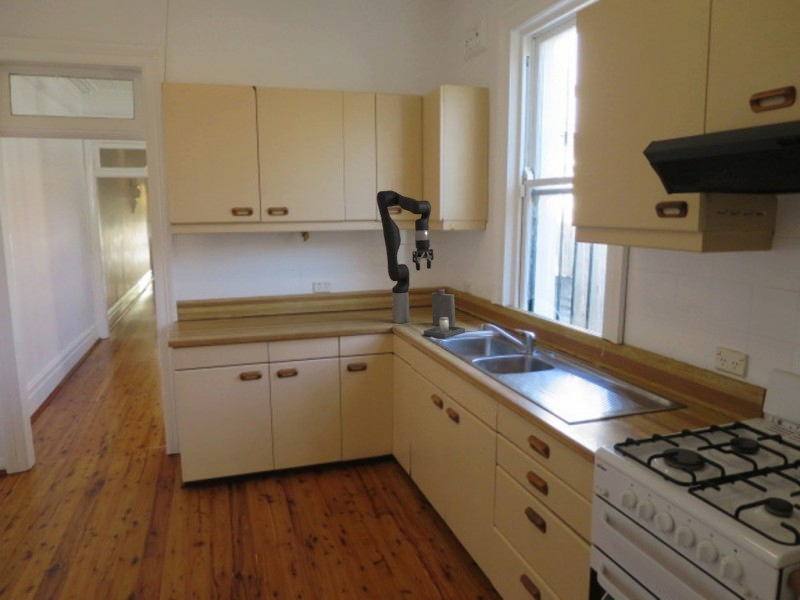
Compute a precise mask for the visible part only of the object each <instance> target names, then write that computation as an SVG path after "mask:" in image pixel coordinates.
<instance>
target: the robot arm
mask: <svg viewBox="0 0 800 600" xmlns="http://www.w3.org/2000/svg"><path fill="white" fill-rule="evenodd" d="M376 203H377V207H378V211H379V215H380V220H381V225H382V226H381V227H382V231H383V240H384V244H385V251H386V260H387V262H386V263H387V273H388V277H389V279H390V280H391V281H392V282H396V284H395V285H394V286H392V288H391V290H392V291H391V292H392V305H391V318H392V322H394V323H396V324H404V323H410V322H411V321H410V320H411V319H410V299H409V297H410V296H409V290H410V289H409V288H410V269H409V267H408V265H407V264H405V263H399V262H398V253H399V250H400V247H401V242H402V240H401V239H402V237H401V233H400V232H401V231H400V228H399V226H398V224H397V222H395V221H394V219H393V218H392V217H391V215H390V212H389V208H392V207H400V209H402V210H404V211H408V212H410V213H411V214H412V215H420V218H417V219H416V220H414V221H415V222H414V225H415V226H414V231H415V233H414V240H415V241H414V242H415V243H414V244H415V248H416V250H413V251H412V252H411V253H412V254H411V255H412V259H411V260H412V263H414V264H415V269H416V271H419V272H420V270H421V261H422V260H423V259H425V260H426V269H428V270H429V269H431V268H432V261H433V260H435V259H434V258H435V257H434V249H433V248H430V247H431V244H430V243H431V242H430V241H431V240H430V232H429V229H430V228H429V227H430V226H429V221H430V217H431V212H432V205H431V203H430V201H428V200H417V199H416V198H413V197H408V196H404V195H402V194H400V193H398V192H396V191H395V190H380V191H378V192H377V194H376Z"/></svg>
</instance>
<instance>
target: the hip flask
mask: <svg viewBox="0 0 800 600" xmlns="http://www.w3.org/2000/svg"><path fill="white" fill-rule="evenodd" d="M431 308H432V309H431V312H432V315H431V316H432V325H435V326H440V322H439V319H440V317H448V322H449V326H455V327H456V315H455V314H456V313H455V312H456V308H455V294H453V293H452V294H450V293H446V289H444V288H443V289H438V291H437V292H431Z"/></svg>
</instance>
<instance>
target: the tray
mask: <svg viewBox="0 0 800 600" xmlns="http://www.w3.org/2000/svg"><path fill="white" fill-rule="evenodd" d="M465 329H466V328H465V327H463V326H462V327H461V326H456V325H455V326H449V332H447V333H440V326H439V325H437V326H435V327H431V328H428V329H425V330H423V336H425V335H428V336H427V337H431V336H433V338H439V339H448V338H449V339H450V338H451V337H455V336H459V335H461V334H464V333H465V332H466V331H465Z"/></svg>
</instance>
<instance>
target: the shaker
mask: <svg viewBox="0 0 800 600" xmlns="http://www.w3.org/2000/svg"><path fill="white" fill-rule="evenodd" d="M439 322H440V333H447V332H449V322H448V317H440V319H439Z"/></svg>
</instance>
